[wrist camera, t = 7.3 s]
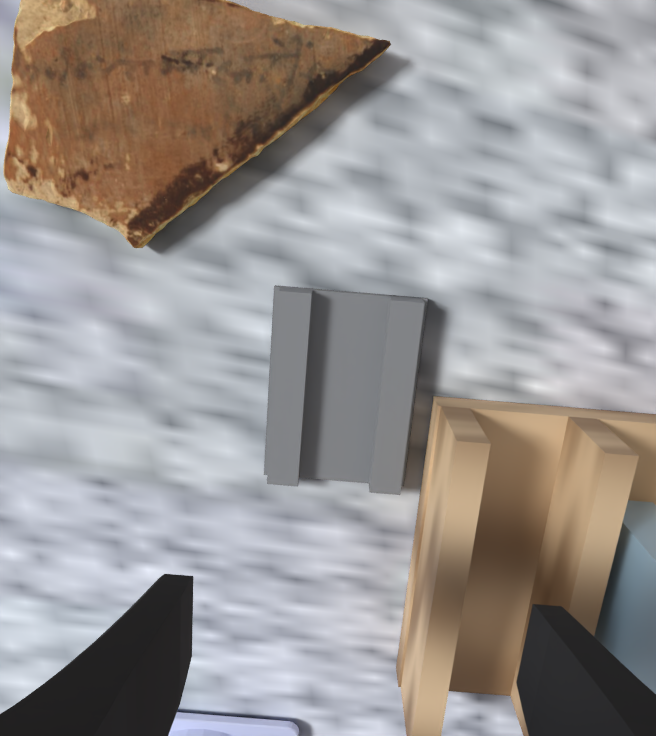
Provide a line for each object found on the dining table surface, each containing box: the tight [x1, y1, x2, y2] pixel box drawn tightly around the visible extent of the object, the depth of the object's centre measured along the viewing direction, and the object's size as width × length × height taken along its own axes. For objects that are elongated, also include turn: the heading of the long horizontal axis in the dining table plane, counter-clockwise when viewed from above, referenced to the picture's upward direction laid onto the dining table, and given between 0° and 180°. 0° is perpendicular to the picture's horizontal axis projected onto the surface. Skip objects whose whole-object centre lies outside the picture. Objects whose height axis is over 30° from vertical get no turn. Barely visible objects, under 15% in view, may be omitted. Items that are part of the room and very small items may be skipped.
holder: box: [264, 286, 428, 495], centre depth 21 cm, size 7×5×1 cm
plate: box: [594, 500, 656, 694], centre depth 19 cm, size 6×2×6 cm, turn 176°
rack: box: [396, 396, 656, 736], centre depth 21 cm, size 12×14×4 cm
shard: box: [4, 0, 391, 248], centre depth 19 cm, size 11×8×2 cm
